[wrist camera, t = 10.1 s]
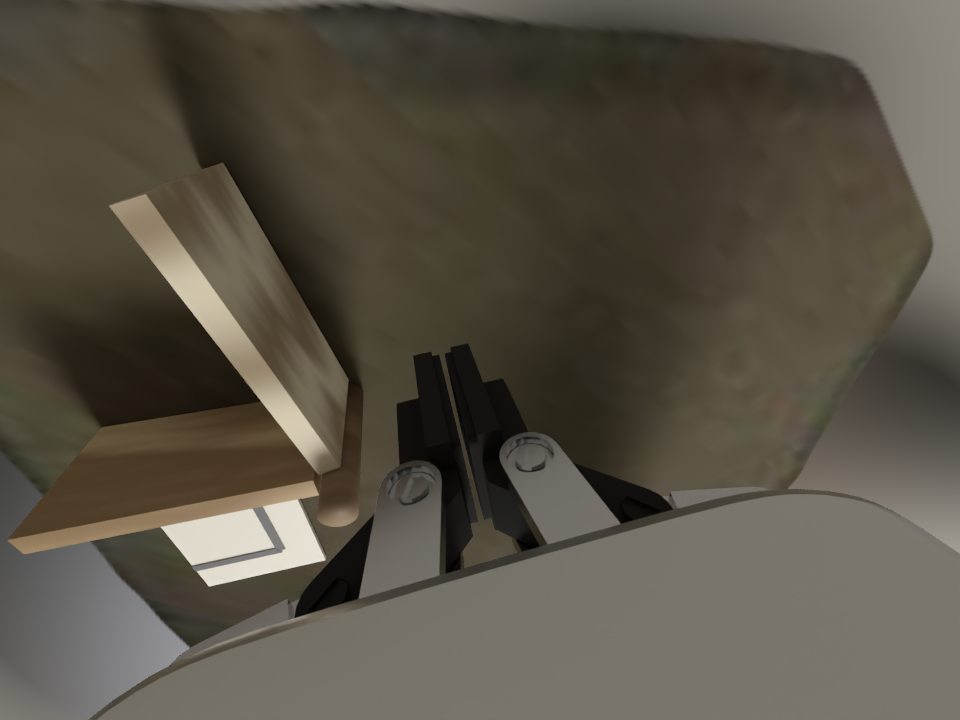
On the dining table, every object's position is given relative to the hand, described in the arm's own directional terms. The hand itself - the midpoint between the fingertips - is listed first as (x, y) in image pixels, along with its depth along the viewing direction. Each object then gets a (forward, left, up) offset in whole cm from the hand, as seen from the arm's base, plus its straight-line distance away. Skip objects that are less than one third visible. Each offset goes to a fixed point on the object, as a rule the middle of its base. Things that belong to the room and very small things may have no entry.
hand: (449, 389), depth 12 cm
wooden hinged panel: (-10, +13, -14) cm, 22 cm away
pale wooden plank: (-2, +8, -14) cm, 16 cm away
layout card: (-22, +17, -14) cm, 31 cm away
